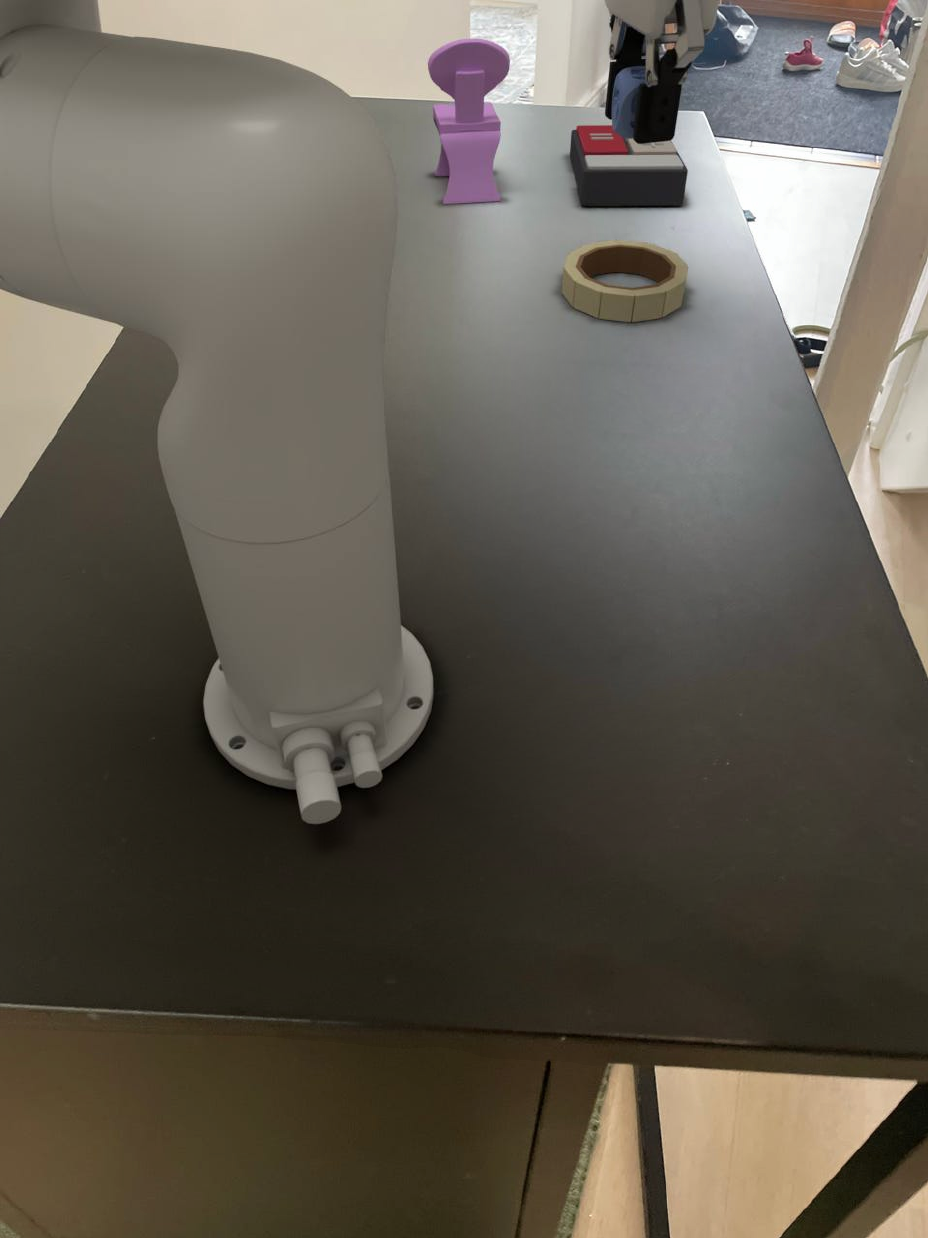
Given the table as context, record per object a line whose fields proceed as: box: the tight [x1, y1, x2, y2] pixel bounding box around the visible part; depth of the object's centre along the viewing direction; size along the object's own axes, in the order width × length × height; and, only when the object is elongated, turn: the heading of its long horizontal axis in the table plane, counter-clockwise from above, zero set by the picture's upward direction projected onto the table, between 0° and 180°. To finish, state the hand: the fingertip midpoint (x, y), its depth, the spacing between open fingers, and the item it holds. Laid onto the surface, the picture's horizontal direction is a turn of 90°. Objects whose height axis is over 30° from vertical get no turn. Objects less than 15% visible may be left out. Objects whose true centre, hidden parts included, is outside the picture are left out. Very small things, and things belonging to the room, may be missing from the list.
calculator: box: [569, 124, 689, 207], centre depth 101 cm, size 11×4×15 cm
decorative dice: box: [611, 66, 646, 139], centre depth 70 cm, size 4×4×4 cm
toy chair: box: [427, 38, 511, 205], centre depth 96 cm, size 8×9×15 cm
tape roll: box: [561, 239, 689, 323], centre depth 83 cm, size 11×11×2 cm
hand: (638, 125), depth 71 cm, fingers closed on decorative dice, 4 cm apart
